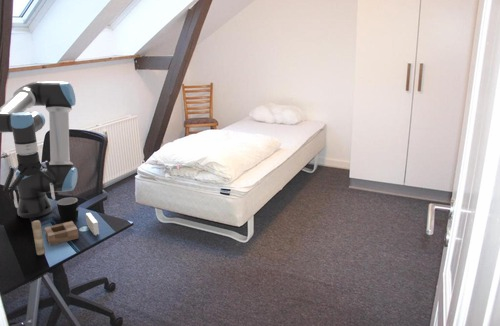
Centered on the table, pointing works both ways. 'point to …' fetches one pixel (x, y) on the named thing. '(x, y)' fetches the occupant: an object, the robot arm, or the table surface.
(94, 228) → the rail
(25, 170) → the robot arm
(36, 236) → the dowel
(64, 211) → the mug
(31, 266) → the table surface
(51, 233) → the block
